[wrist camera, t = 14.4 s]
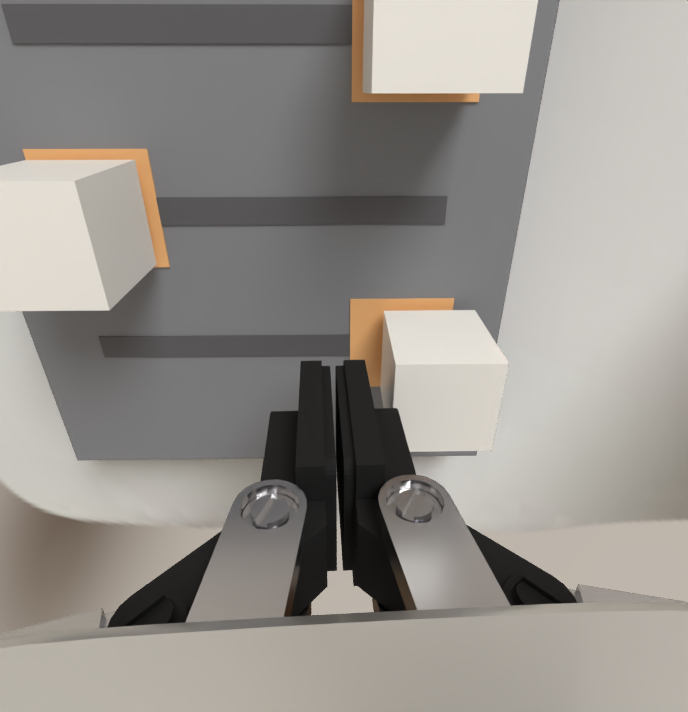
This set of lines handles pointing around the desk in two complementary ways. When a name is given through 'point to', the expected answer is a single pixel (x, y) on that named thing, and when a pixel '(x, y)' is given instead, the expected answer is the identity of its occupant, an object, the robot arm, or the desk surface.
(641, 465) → the desk surface
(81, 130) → the switch panel
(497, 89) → the near slider knob
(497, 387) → the far slider knob
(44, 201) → the middle slider knob
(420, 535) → the robot arm
